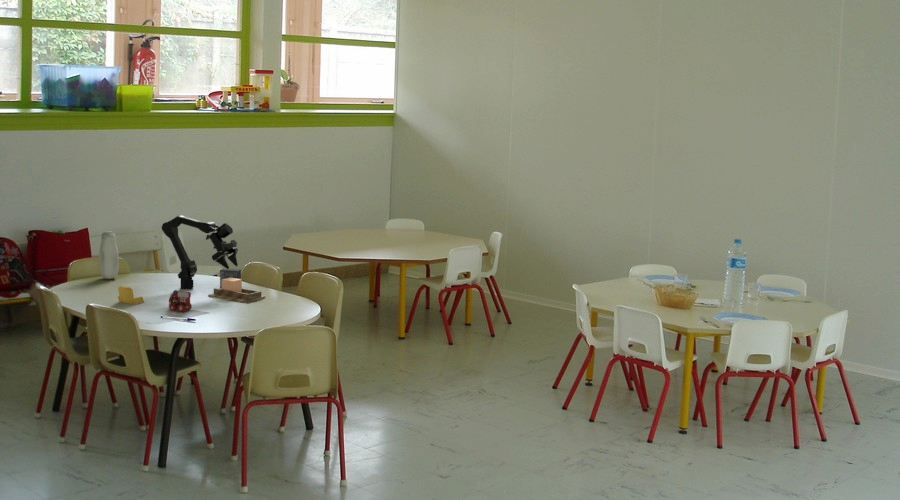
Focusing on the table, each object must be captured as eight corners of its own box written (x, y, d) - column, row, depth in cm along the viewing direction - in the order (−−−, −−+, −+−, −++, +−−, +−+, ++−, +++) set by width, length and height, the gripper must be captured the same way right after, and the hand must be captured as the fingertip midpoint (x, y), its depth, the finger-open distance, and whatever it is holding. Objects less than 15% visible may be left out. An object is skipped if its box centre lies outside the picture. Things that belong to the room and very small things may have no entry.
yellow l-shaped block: (145, 302, 512) (144, 284, 511) (132, 305, 504) (131, 287, 502) (129, 300, 517) (129, 282, 515) (116, 303, 508) (115, 285, 507)
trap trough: (208, 296, 531) (208, 289, 530) (228, 291, 545) (228, 284, 544) (245, 302, 518) (245, 295, 517) (265, 297, 532) (265, 290, 531)
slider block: (221, 294, 532) (221, 279, 531) (230, 292, 538) (230, 277, 537) (232, 295, 528) (232, 281, 527) (241, 293, 534) (241, 279, 533)
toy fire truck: (174, 308, 501) (173, 288, 499) (194, 310, 496) (194, 290, 495) (165, 310, 494) (165, 290, 493) (186, 313, 490) (186, 292, 488)
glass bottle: (104, 276, 575) (103, 229, 570) (121, 277, 574) (120, 230, 569) (96, 280, 565) (95, 231, 560) (114, 280, 564) (113, 232, 559)
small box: (241, 287, 558) (241, 268, 557) (238, 289, 552) (237, 270, 550) (223, 286, 559) (223, 268, 558) (219, 288, 553) (219, 270, 551)
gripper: (220, 237, 528) (234, 262, 527) (237, 233, 546) (252, 257, 545) (205, 247, 532) (219, 272, 531) (223, 243, 549) (237, 267, 549)
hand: (232, 267), depth 539 cm, fingers open, 9 cm apart
